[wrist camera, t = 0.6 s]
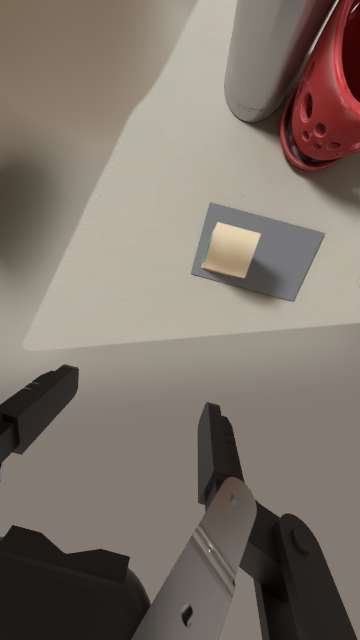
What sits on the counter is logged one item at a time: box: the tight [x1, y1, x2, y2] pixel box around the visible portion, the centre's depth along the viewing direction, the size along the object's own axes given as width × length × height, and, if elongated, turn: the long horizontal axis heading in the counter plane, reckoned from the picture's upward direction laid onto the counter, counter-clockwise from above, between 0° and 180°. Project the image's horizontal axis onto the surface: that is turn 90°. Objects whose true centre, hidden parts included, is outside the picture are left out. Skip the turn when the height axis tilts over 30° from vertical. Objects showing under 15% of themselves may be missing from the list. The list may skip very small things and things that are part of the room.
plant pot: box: [280, 0, 360, 171], centre depth 20 cm, size 13×13×12 cm
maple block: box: [201, 222, 261, 278], centre depth 26 cm, size 5×5×12 cm
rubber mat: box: [191, 203, 325, 301], centre depth 31 cm, size 12×20×1 cm, turn 76°
